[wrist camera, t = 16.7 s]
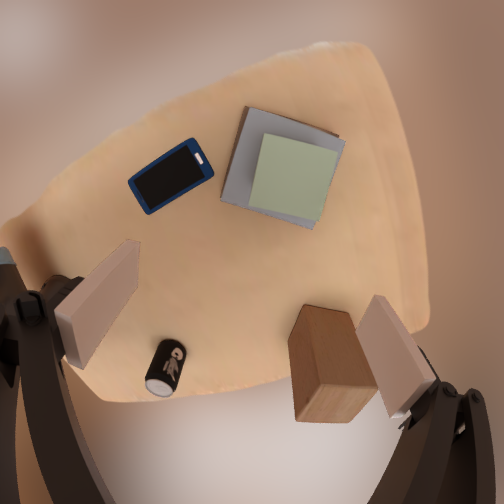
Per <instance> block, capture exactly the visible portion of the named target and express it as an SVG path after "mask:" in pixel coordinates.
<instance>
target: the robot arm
mask: <svg viewBox="0 0 504 504" xmlns="http://www.w3.org/2000/svg"><path fill="white" fill-rule="evenodd" d="M139 252H140V242H137V241H133V240H129V239H127V240H126V241H125V242H123V243H122V244H121V245H120V246H119V247H118V248H117V249H116V250H115V251H113V252H112V253H111V254H110V255H109V256H108V257H107V258H106V259H105V260H104V261H103V262H101V263H100V264H99V265H98V266H97V267H96V268H95V269H94V270H93V271H92V272H91V273H90V274H89V275H88V276H87V277H86V278H82V277H79V276H78V277H76V278H74V279H72V280H69V279H68V278H66V277H63V276H59V275H55V276H52V277H50V278H49V279H48V280H47V281H46V282H45V283H44V284H43V286H42V288H41V290H40V292H37V291H34V290H27V288H26V286H25V284H24V282H23V280H22V278H21V276H20V274H19V271H18V269H17V267H16V266H17V265H16V263H15V262H14V260H13V258H12V256H11V254H10V252H9V250H8V249H7V248H5V247H0V504H20V499H19V492H18V484H17V474H16V458H15V424H16V407H17V396H18V388H19V380H20V376H21V385H22V393H23V400H24V406H25V411H26V417H27V422H28V426H29V431H30V435H31V439H32V443H33V447H34V450H35V454H36V457H37V461H38V464H39V467H40V470H41V473H42V476H43V478H44V481H45V484H46V486H47V489H48V491H49V494H50V496H51V498H52V501H53V503H54V504H116V503H115V501H114V499H113V498H112V496H111V494H110V492H109V490H108V489H107V487H106V485H105V483H104V481H103V479H102V477H101V475H100V473H99V471H98V469H97V467H96V464H95V462H94V460H93V458H92V455H91V453H90V451H89V448H88V446H87V444H86V441H85V438H84V436H83V433H82V431H81V428H80V425H79V422H78V419H77V417H76V413H75V410H74V407H73V404H72V401H71V397H70V394H69V390H68V386H67V383H66V379H65V375H64V370H63V366H62V363H61V359H62V358H63V356H64V355H66V358H67V361H68V363H69V364H71V365H73V366H75V367H78V368H80V369H82V370H84V368H85V366H86V365H87V363H88V361H89V360H90V358H91V357H92V355H93V353H94V352H95V350H96V348H97V347H98V345H99V344H100V342H101V341H102V339H103V337H104V336H105V334H106V333H107V331H108V330H109V328H110V327H111V325H112V324H113V322H114V321H115V319H116V318H117V316H118V315H119V313H120V312H121V310H122V309H123V307H124V306H125V304H126V303H127V301H128V300H129V299H130V297H131V296H132V294H133V293H134V291H135V290H136V289H137V287H138V270H139ZM355 333H356V335H357V337H358V339H359V342H360V344H361V346H362V349H363V351H364V354H365V356H366V358H367V361H368V363H369V366H370V368H371V370H372V373H373V375H374V378H375V380H376V383H377V386H378V388H379V391H380V393H381V395H382V398H383V401H384V404H385V406H386V409H387V412H388V415H389V417H390V418H399V417H402V416H403V415H404V414H405V413H406V412H407V411H408V410H409V409H410V412H411V415H410V416H409V417H408V418H407V419H406V420H405V421H404V422H403V423H402V424H401V425H400V426H399V428H398V429H401V427H403V426H404V429H403V430H402V431H403V432H402V434H401V437H400V439H399V442H398V444H397V446H396V449H395V451H394V453H393V456H392V458H391V460H390V462H389V464H388V466H387V468H386V470H385V472H384V474H383V476H382V478H381V480H380V482H379V484H378V486H377V488H376V489H375V491H374V493H373V495H372V496H371V498H370V500H369V502H368V503H367V504H495V501H496V500H495V498H496V495H495V493H496V487H495V465H494V455H493V446H492V438H491V432H490V426H489V421H488V416H487V410H486V406H485V402H484V398H483V396H482V395H481V393H480V392H479V391H478V390H476V389H473V388H471V389H469V390H468V391H467V393H466V394H465V395H461V394H458V392H457V390H456V389H455V388H454V386H453V385H451V384H450V383H448V382H441V381H440V379H439V377H438V376H437V374H436V372H435V371H434V369H433V367H432V365H431V364H430V362H429V360H428V359H426V358H427V357H426V355H425V354H424V352H423V351H422V349H421V348H419V346H417V345H416V343H415V342H414V340H413V339H412V337H411V335H410V334H409V332H408V331H407V329H406V328H405V326H404V324H403V323H402V321H401V320H400V318H399V317H398V315H397V314H396V312H395V311H394V309H393V308H392V307H391V305H390V304H389V302H388V301H387V299H386V298H385V297H384V296H379V295H375V294H374V296H373V298H372V300H371V302H370V304H369V306H368V308H367V310H366V312H365V314H364V316H363V318H362V320H361V321H360V323H359V325H358V327H357V329H356V331H355ZM464 424H465V430H464V431H463V432H461V433H460V434H459V429H460V428H461V427H462V426H463V425H464Z"/></svg>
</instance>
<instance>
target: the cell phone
mask: <svg viewBox="0 0 504 504" xmlns="http://www.w3.org/2000/svg"><path fill="white" fill-rule="evenodd" d="M213 176H214V171H213V169H212V167H211V165H210V164H209V162H208V160H207V158H206V157H205V155H204V153H203V151H202V150H201V148H200V146H199V144H198V143H197V141H196V140H195V139H194V138H190V139H188V140H186V141H184V142H182V143H181V144H179V145H178V146H176V147H174V148H173V149H171V150H170V151H168V152H167V153H165V154H164V155H162V156H161V157H159V158H158V159H156V160H155V161H153V162H152V163H150V164H149V165H148V166H146V167H145V168H143V169H142V170H140V171H139V172H138V173H136V174H135V175H134V176H132V177H131V178H130V179H129V180H128V184H129V186H130V188H131V190H132V192H133V193H134V195H135V197H136V199H137V200H138V202H139V204H140V205H141V207H142V209H143V210H144V212H145V213H146V214H147V215H150V214H152V213H153V212H155V211H157V210H158V209H160V208H162V207H163V206H165V205H166V204H168V203H170V202H171V201H173V200H174V199H176V198H178V197H179V196H181V195H183V194H184V193H186V192H188V191H189V190H191V189H193V188H194V187H196V186H198V185H200V184H201V183H203V182H205V181H207V180H208V179H210V178H211V177H213Z"/></svg>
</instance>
